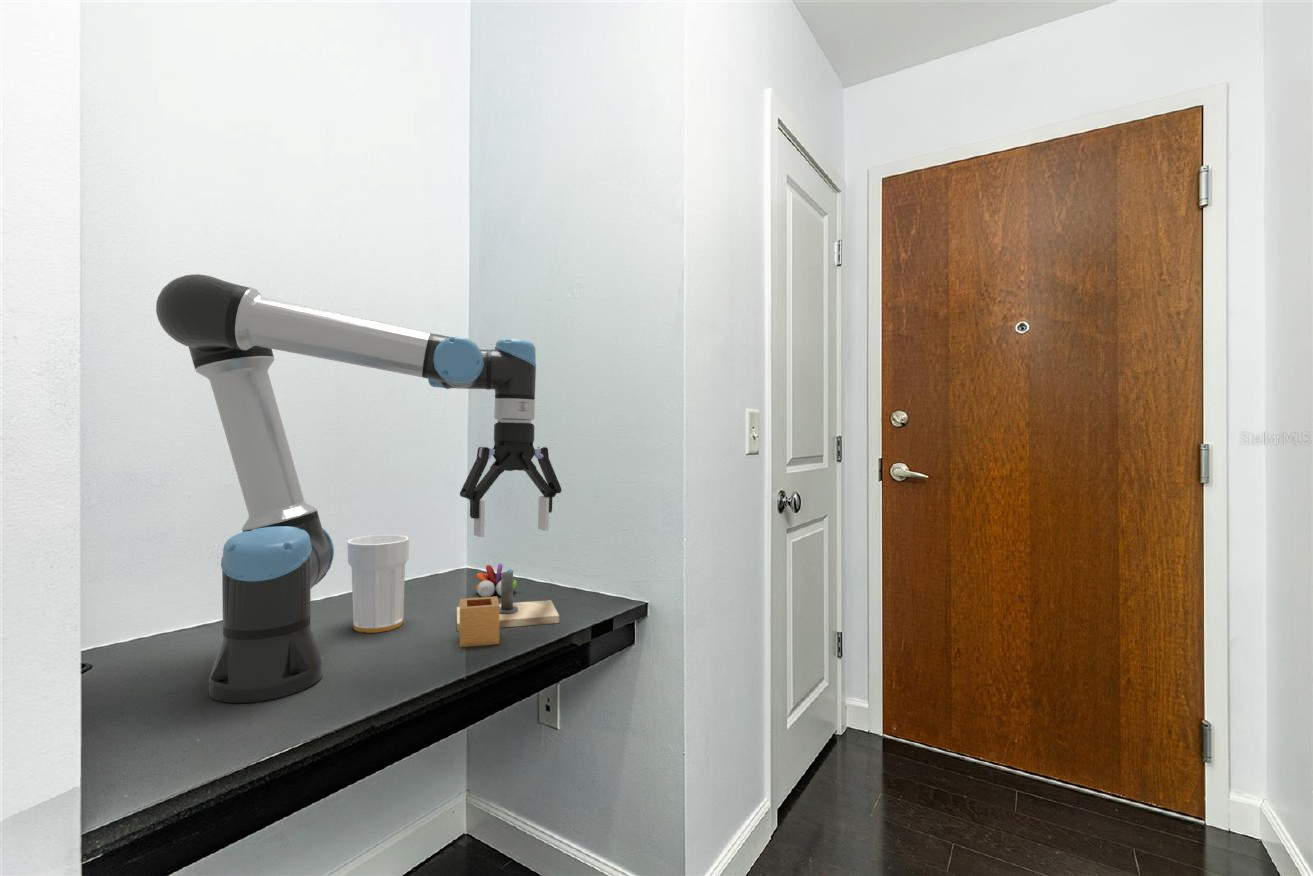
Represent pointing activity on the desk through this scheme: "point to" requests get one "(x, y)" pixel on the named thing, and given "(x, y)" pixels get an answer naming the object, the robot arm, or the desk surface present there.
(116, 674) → the desk surface
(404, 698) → the desk surface
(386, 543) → the cup
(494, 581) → the colorful toy
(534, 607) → the keeper
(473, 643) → the wooden pen holder
